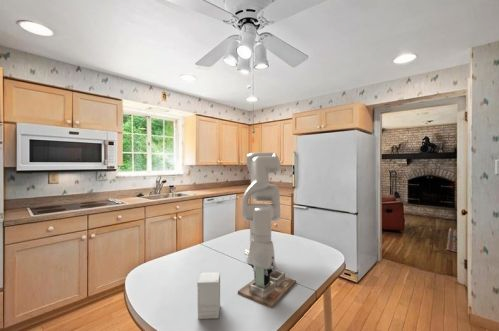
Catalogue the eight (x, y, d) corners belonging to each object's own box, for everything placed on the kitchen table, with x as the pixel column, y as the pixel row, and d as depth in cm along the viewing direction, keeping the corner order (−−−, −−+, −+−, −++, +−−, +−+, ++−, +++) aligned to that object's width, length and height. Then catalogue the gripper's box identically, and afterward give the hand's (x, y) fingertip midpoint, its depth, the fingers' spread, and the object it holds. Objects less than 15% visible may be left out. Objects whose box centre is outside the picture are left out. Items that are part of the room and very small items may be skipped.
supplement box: (220, 305, 84) (220, 271, 84) (218, 319, 76) (218, 282, 76) (200, 305, 84) (201, 272, 84) (196, 319, 76) (197, 282, 76)
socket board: (237, 293, 92) (237, 283, 92) (265, 272, 110) (265, 264, 110) (271, 308, 82) (271, 297, 82) (296, 282, 100) (296, 273, 100)
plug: (255, 285, 91) (255, 265, 91) (260, 281, 95) (260, 262, 95) (263, 288, 89) (263, 268, 89) (268, 284, 92) (268, 264, 92)
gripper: (240, 236, 94) (240, 279, 94) (275, 244, 84) (275, 293, 84) (250, 231, 100) (250, 273, 100) (284, 239, 90) (284, 284, 90)
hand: (262, 281), depth 92 cm, fingers closed on plug, 3 cm apart
